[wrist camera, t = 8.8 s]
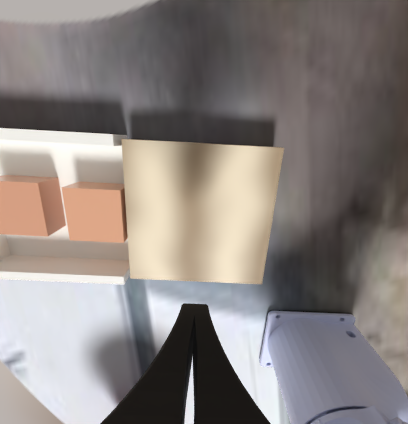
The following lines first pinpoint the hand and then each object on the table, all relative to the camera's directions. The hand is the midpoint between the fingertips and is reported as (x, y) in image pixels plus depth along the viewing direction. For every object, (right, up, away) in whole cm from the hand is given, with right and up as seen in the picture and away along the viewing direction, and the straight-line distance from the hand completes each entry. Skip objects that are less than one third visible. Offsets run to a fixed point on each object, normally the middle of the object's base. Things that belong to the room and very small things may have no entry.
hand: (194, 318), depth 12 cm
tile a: (-8, +6, +8) cm, 13 cm away
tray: (-12, +7, +8) cm, 16 cm away
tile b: (-15, +7, +8) cm, 18 cm away
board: (0, +6, +8) cm, 10 cm away
